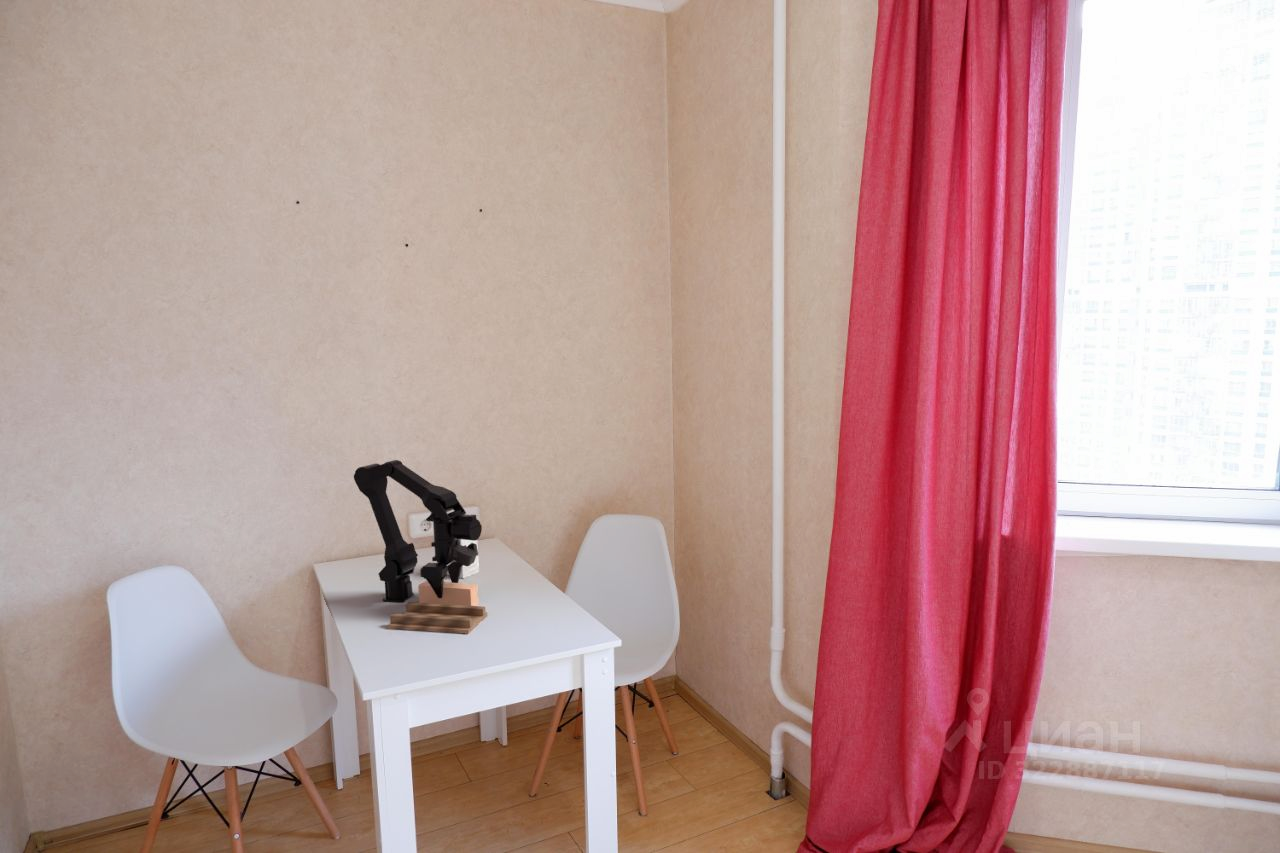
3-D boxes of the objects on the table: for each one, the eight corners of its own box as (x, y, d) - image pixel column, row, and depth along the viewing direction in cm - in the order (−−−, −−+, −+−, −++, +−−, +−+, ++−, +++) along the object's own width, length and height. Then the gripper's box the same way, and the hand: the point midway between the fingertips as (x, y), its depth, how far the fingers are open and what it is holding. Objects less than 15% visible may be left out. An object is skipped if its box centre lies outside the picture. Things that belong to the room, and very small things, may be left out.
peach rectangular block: (419, 606, 209) (418, 585, 208) (427, 601, 212) (426, 580, 212) (471, 610, 204) (470, 589, 203) (478, 605, 208) (477, 584, 207)
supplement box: (480, 572, 236) (478, 533, 235) (462, 579, 230) (460, 538, 228) (463, 568, 240) (461, 530, 239) (445, 575, 234) (443, 535, 232)
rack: (388, 628, 192) (387, 617, 192) (411, 611, 204) (410, 600, 204) (468, 633, 188) (467, 622, 187) (487, 615, 199) (487, 605, 199)
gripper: (457, 548, 195) (460, 606, 197) (486, 529, 213) (488, 582, 215) (417, 546, 197) (421, 603, 199) (449, 527, 215) (452, 580, 217)
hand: (447, 592), depth 208 cm, fingers open, 9 cm apart
